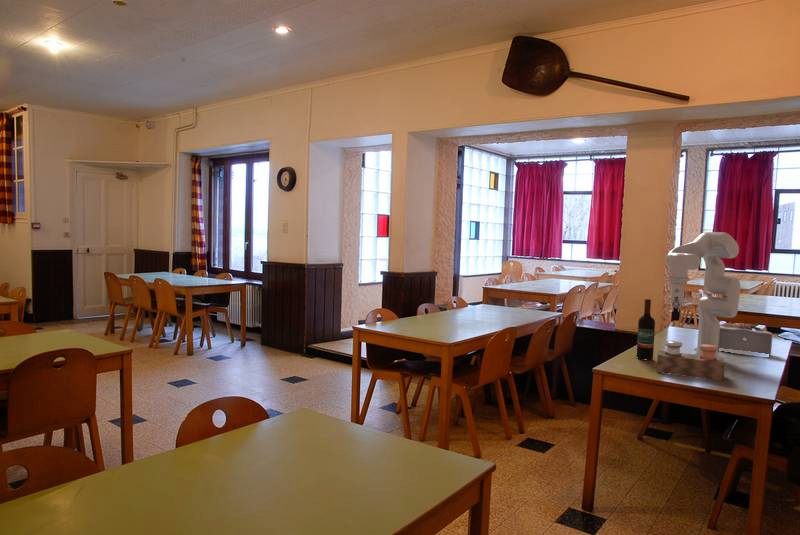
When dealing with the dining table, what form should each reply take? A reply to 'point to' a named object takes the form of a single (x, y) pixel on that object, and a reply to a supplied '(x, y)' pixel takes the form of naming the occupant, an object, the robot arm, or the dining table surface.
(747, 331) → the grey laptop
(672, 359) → the press block
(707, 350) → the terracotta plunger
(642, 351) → the wine bottle
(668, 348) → the steel plunger
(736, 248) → the robot arm
